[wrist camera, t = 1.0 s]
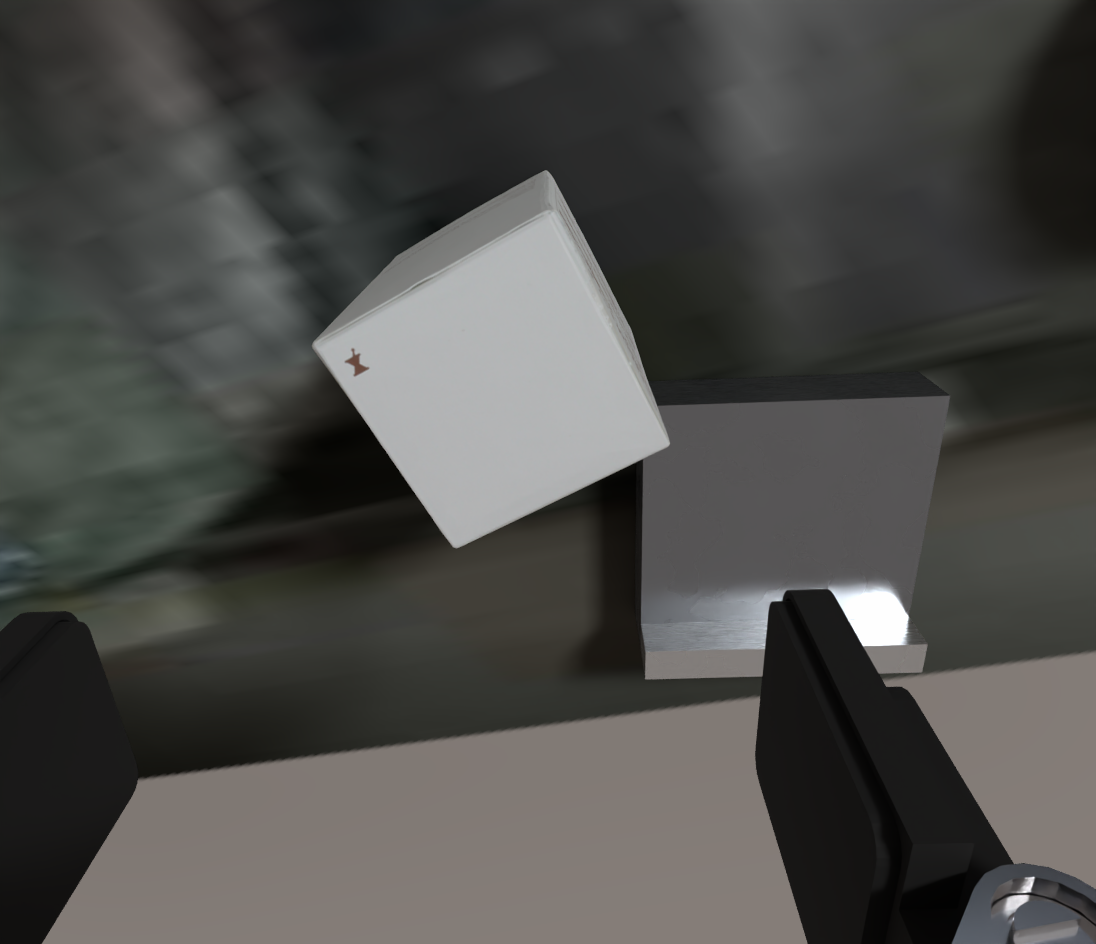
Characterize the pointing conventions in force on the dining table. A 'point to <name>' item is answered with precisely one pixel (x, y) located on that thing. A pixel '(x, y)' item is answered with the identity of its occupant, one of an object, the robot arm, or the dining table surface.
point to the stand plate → (783, 514)
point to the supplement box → (496, 365)
